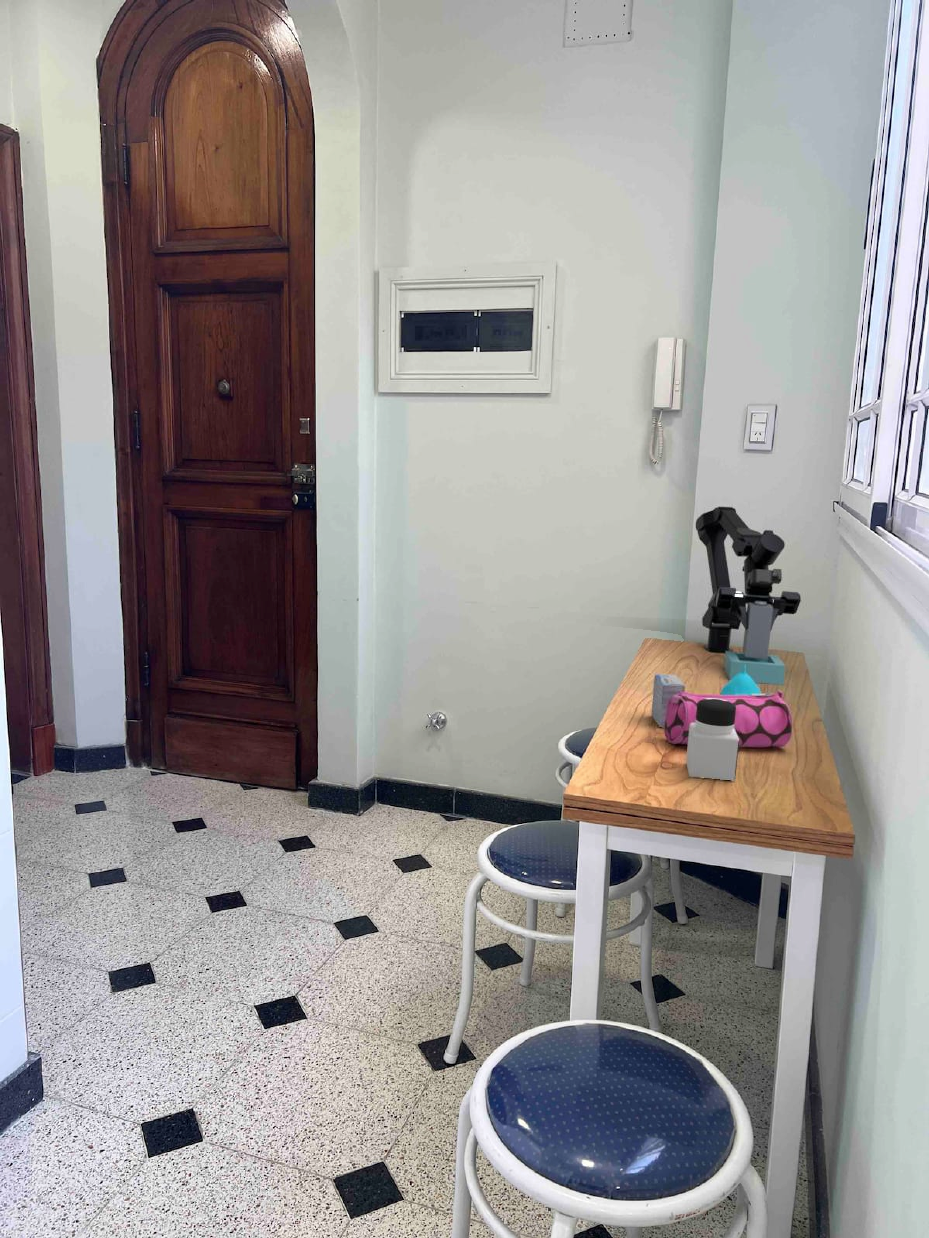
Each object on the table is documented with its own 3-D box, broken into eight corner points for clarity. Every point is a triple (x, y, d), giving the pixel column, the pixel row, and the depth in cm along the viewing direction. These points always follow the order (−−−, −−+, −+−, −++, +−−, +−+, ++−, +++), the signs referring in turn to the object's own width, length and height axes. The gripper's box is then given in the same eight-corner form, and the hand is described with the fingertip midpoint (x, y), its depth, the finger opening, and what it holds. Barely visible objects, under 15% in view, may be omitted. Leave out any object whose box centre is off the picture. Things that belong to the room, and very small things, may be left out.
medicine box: (682, 729, 166) (686, 684, 164) (658, 728, 166) (662, 683, 164) (673, 717, 174) (677, 674, 172) (650, 716, 174) (654, 673, 172)
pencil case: (766, 735, 165) (772, 683, 163) (793, 753, 155) (799, 698, 153) (657, 736, 161) (661, 683, 159) (677, 754, 152) (682, 698, 150)
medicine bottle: (735, 782, 139) (743, 709, 137) (688, 777, 140) (695, 704, 138) (729, 767, 146) (737, 697, 144) (685, 762, 147) (692, 693, 145)
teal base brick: (723, 668, 217) (725, 650, 216) (774, 672, 215) (776, 654, 214) (729, 680, 205) (731, 661, 205) (783, 684, 204) (785, 665, 203)
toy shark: (720, 728, 168) (726, 673, 166) (708, 703, 185) (713, 653, 183) (774, 732, 166) (780, 677, 164) (756, 706, 184) (761, 656, 182)
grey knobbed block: (742, 652, 212) (748, 599, 210) (763, 654, 211) (770, 600, 209) (745, 657, 207) (751, 602, 205) (767, 658, 207) (773, 604, 204)
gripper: (722, 553, 210) (722, 606, 202) (803, 558, 207) (808, 612, 199) (715, 581, 220) (715, 633, 211) (793, 586, 217) (797, 639, 208)
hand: (758, 629), depth 207 cm, fingers closed on grey knobbed block, 5 cm apart
